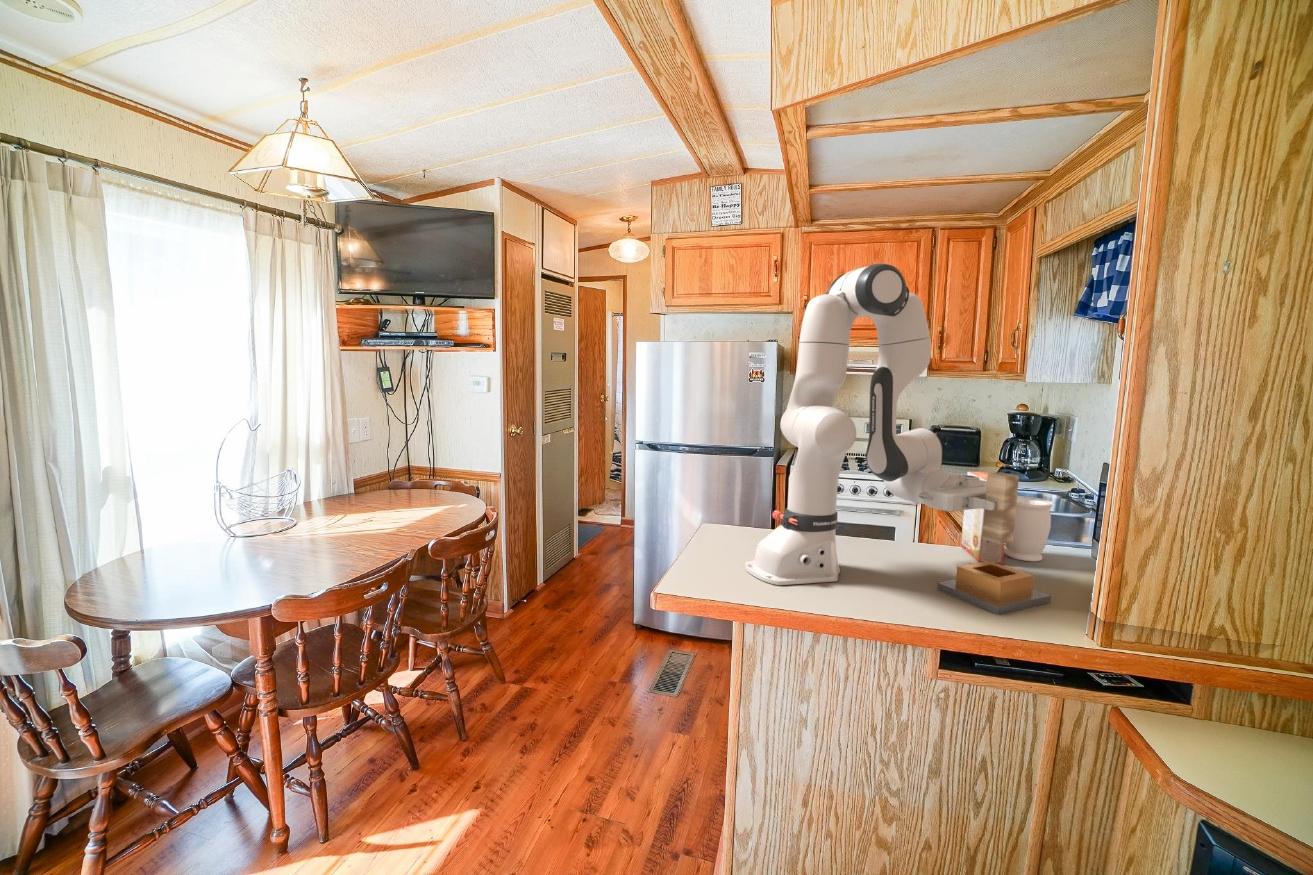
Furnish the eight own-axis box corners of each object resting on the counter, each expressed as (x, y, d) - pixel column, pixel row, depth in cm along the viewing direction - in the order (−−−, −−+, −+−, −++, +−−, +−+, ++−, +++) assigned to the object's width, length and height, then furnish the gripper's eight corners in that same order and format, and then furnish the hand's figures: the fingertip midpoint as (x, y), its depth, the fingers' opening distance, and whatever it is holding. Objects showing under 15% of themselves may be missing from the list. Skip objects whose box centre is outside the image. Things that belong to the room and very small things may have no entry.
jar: (994, 548, 155) (999, 494, 153) (1038, 552, 152) (1044, 497, 150) (1006, 560, 145) (1011, 502, 143) (1053, 565, 142) (1059, 506, 140)
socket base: (997, 614, 112) (1000, 587, 112) (937, 589, 125) (939, 564, 124) (1050, 602, 119) (1052, 577, 118) (987, 579, 131) (989, 556, 131)
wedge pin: (999, 544, 118) (1005, 477, 116) (982, 538, 122) (987, 473, 120) (1012, 541, 119) (1019, 475, 118) (994, 536, 123) (1000, 472, 121)
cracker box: (1004, 564, 142) (1011, 481, 139) (977, 562, 143) (984, 480, 141) (984, 547, 156) (990, 471, 153) (960, 545, 157) (966, 470, 154)
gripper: (914, 481, 127) (970, 494, 114) (978, 475, 135) (1037, 486, 122) (912, 508, 128) (968, 524, 115) (976, 501, 136) (1034, 515, 123)
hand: (1004, 505), depth 119 cm, fingers closed on wedge pin, 4 cm apart
